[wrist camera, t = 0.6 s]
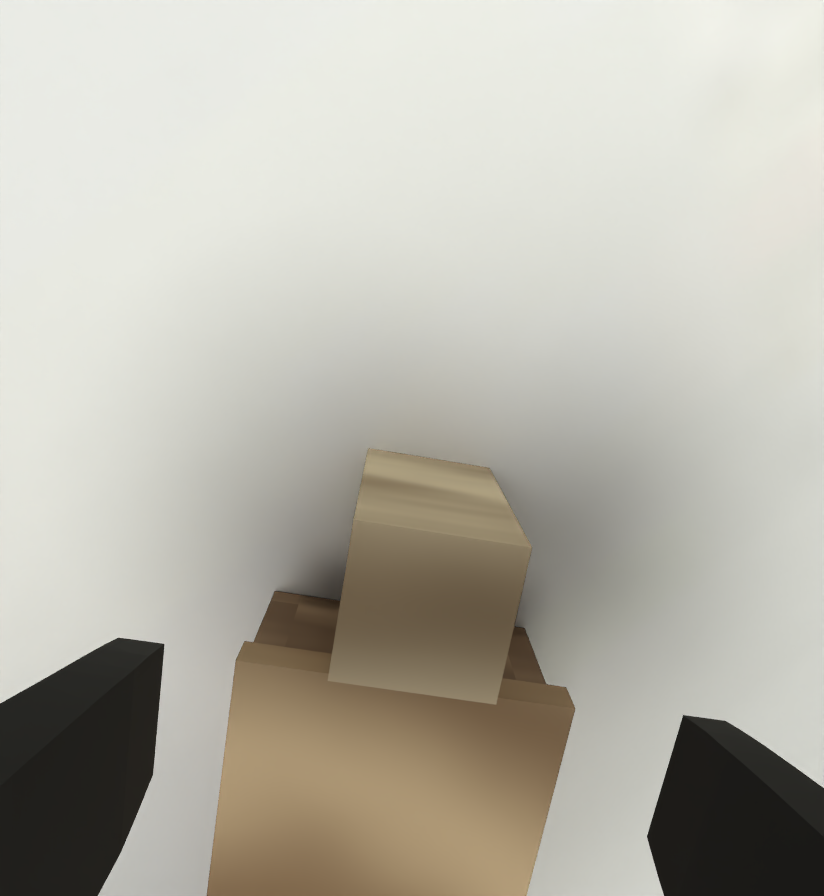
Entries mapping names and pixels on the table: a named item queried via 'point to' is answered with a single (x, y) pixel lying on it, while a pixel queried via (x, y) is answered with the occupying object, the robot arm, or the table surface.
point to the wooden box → (315, 627)
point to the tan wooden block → (429, 580)
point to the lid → (380, 784)
